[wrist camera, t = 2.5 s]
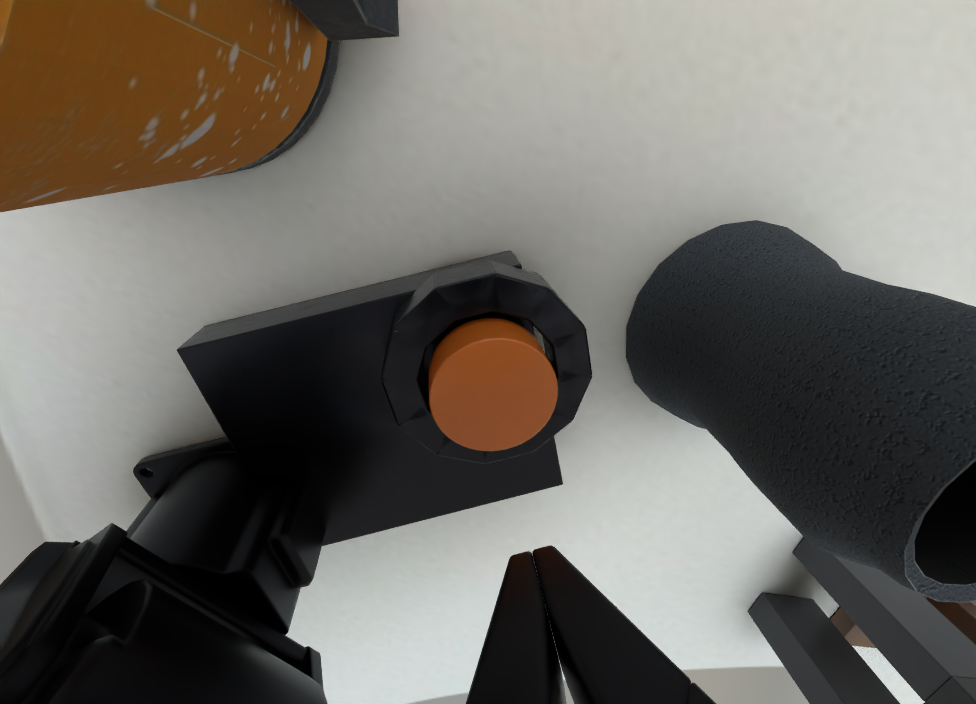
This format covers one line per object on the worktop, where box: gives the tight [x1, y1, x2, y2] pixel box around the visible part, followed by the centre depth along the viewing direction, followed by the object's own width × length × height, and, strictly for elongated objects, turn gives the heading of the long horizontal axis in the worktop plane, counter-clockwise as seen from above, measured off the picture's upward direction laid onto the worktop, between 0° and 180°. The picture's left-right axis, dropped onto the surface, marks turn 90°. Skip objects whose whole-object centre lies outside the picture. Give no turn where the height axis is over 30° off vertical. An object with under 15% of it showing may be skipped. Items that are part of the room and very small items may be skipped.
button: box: [429, 318, 558, 451], centre depth 15 cm, size 4×4×2 cm
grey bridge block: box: [748, 537, 976, 704], centre depth 24 cm, size 4×7×9 cm, turn 162°
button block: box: [177, 251, 592, 546], centre depth 18 cm, size 14×10×4 cm
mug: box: [626, 220, 976, 603], centre depth 15 cm, size 12×9×11 cm
